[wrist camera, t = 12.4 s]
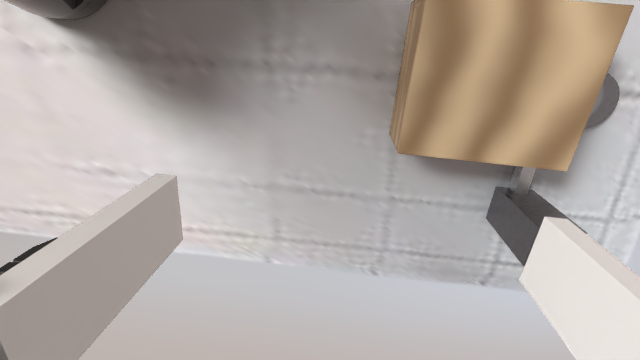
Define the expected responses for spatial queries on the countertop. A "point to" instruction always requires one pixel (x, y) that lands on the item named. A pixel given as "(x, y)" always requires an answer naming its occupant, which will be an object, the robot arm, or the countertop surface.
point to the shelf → (503, 78)
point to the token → (604, 101)
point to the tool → (520, 213)
